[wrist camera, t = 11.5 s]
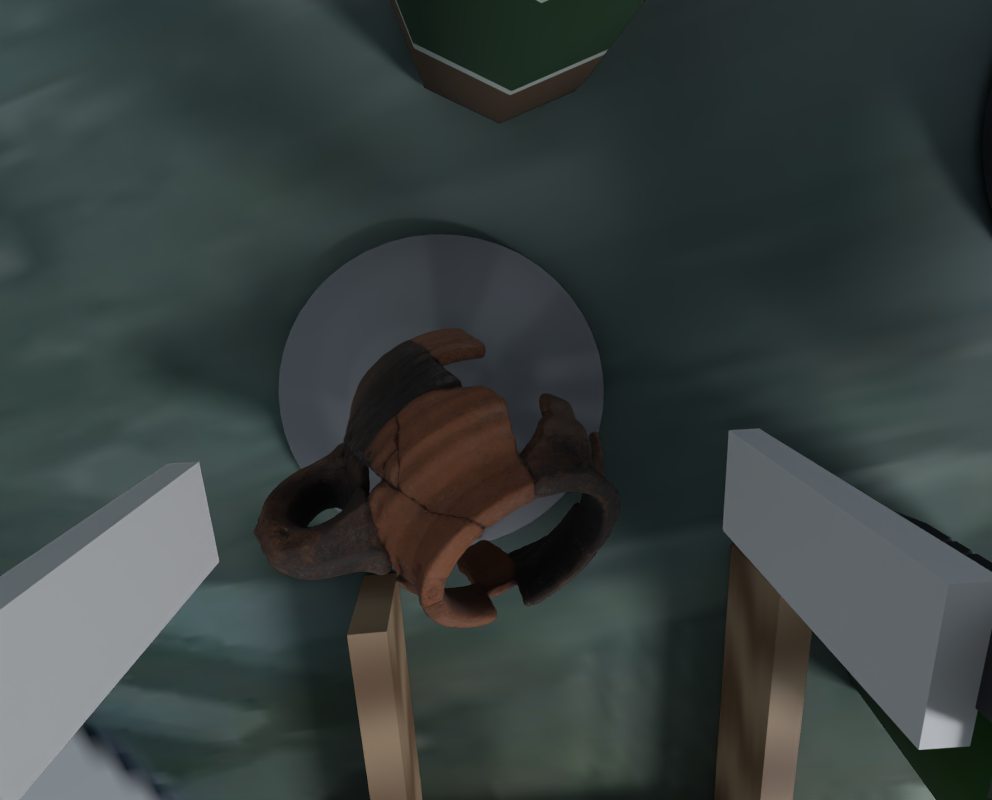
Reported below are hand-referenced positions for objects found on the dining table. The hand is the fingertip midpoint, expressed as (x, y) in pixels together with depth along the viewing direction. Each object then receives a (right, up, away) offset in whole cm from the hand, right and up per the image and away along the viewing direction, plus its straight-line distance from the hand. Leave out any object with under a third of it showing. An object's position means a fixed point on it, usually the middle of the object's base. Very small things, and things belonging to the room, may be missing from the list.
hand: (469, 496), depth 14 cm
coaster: (-1, +2, +9) cm, 10 cm away
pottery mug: (-3, +2, +9) cm, 10 cm away
